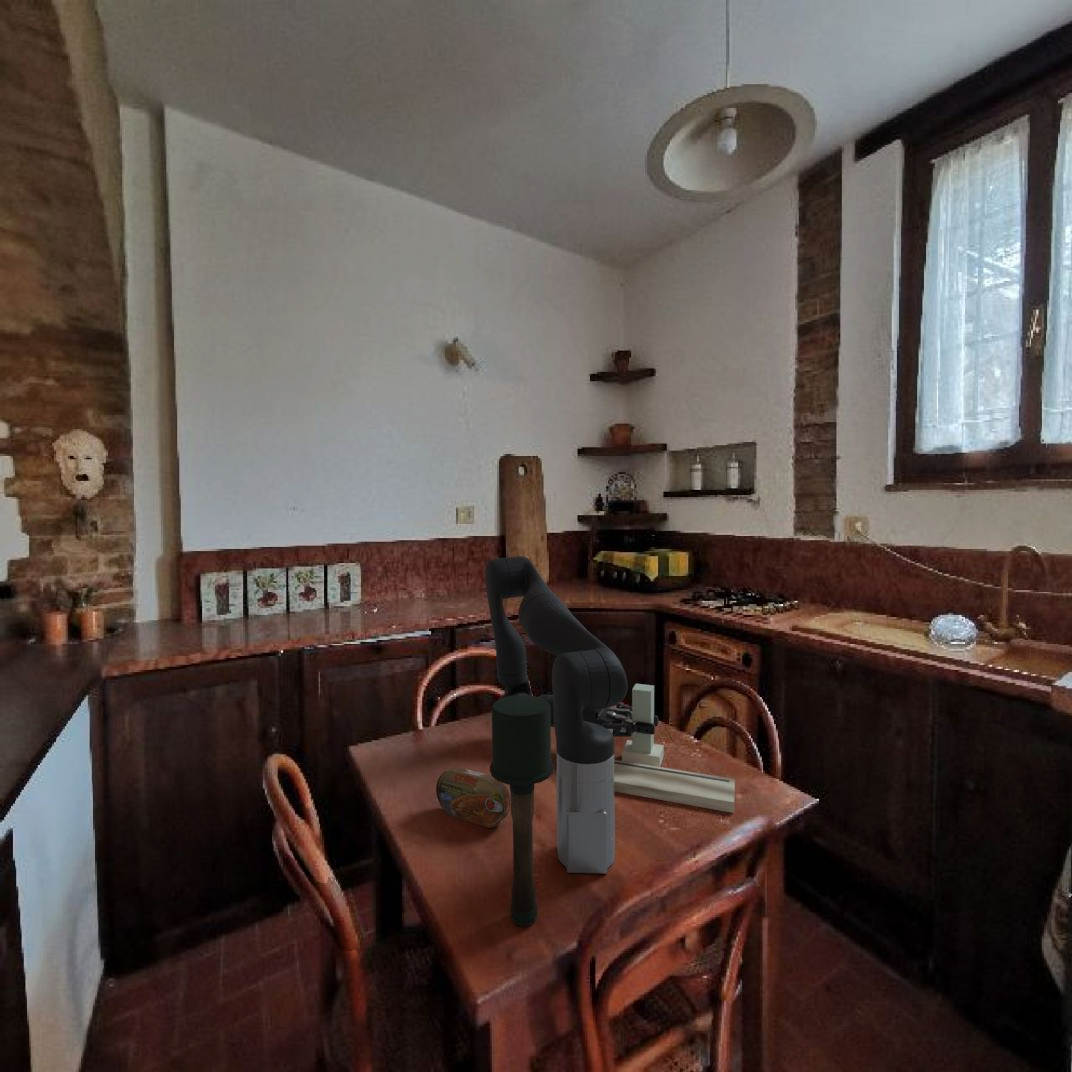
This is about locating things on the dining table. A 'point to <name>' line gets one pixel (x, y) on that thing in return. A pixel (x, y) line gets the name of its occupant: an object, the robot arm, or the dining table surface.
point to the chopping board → (675, 785)
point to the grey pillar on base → (643, 744)
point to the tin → (473, 796)
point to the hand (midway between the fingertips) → (655, 725)
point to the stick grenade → (522, 784)
